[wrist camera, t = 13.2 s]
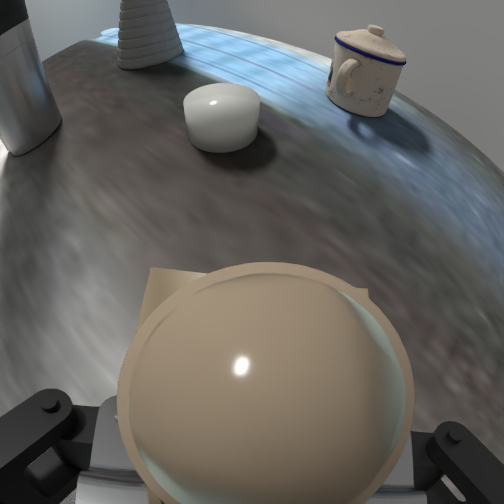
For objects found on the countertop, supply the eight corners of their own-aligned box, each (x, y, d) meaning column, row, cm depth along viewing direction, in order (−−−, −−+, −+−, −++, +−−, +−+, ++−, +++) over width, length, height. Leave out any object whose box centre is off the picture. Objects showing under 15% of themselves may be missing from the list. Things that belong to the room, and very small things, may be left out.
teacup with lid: (341, 80, 34) (356, 14, 24) (394, 108, 32) (419, 41, 21) (298, 101, 30) (311, 15, 20) (364, 136, 27) (395, 45, 17)
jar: (197, 437, 11) (108, 508, 2) (208, 348, 13) (148, 249, 5) (295, 445, 11) (398, 520, 2) (302, 356, 13) (405, 273, 5)
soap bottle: (121, 76, 34) (102, -30, 17) (115, 58, 40) (101, -26, 22) (192, 56, 37) (187, -47, 20) (174, 41, 43) (168, -41, 25)
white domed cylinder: (178, 150, 24) (172, 116, 21) (199, 112, 28) (196, 81, 24) (251, 157, 24) (253, 121, 21) (261, 117, 28) (264, 86, 24)
